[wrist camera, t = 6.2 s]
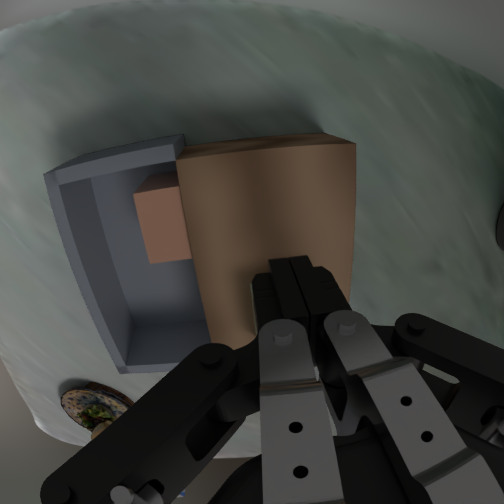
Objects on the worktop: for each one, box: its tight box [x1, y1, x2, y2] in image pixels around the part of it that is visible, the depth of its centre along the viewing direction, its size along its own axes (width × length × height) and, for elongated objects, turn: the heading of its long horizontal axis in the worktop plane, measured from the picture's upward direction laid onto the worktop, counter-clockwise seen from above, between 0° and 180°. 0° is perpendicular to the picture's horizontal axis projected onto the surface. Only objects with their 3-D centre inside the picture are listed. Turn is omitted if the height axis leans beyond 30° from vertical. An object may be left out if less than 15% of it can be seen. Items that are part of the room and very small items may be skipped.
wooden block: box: [176, 133, 356, 350], centre depth 24 cm, size 11×16×6 cm
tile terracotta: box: [133, 171, 193, 264], centre depth 22 cm, size 5×5×3 cm
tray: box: [43, 134, 212, 374], centre depth 23 cm, size 9×18×6 cm, turn 5°
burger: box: [61, 382, 134, 440], centre depth 33 cm, size 12×12×8 cm
